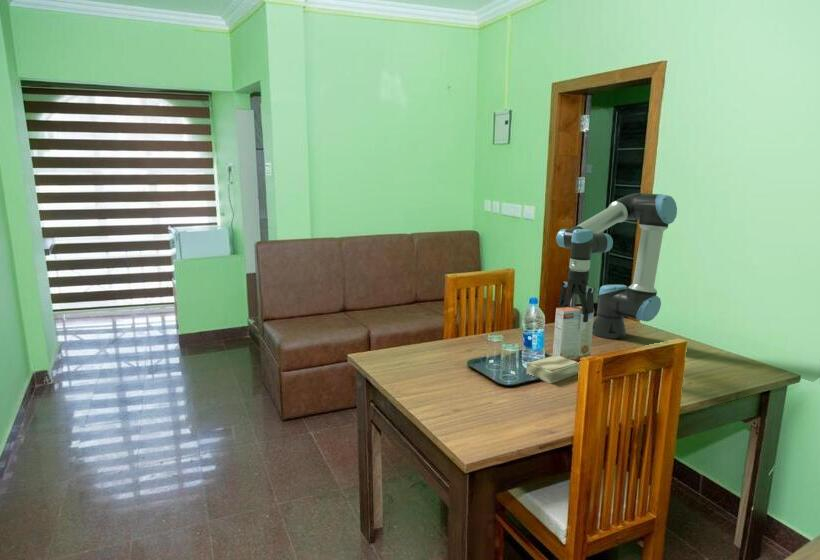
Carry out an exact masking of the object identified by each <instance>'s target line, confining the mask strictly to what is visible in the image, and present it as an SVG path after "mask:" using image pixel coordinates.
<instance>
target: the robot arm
mask: <svg viewBox="0 0 820 560" xmlns="http://www.w3.org/2000/svg"><path fill="white" fill-rule="evenodd" d="M675 200H676V199H674V197H672V196H671V195H667V194H663V193H661V194H659V193H658V194H657V193H641V192H638V193H637V192H636V193H631V194H628V195H625V196H622V197H620V198H618V199H616V200H614V201H612V202H611V203H610V204H609V205H608V207H606V208H605V209H604V210H602V211H600V212H599V213H597V214H595V215H593V216H591V217H589V218H588V219H586V220H584V221H583V222H581V223H580V224H578V225H576V226H574V227H572V228H570V229H568V228H562V229H560V230H559V231H558V232H557V234H556V237H555V239H556V240H555V241H556V244H557V245H558V246H559V247H562V248H565V249H570V256H569V265H568V267H569V270H568V273H567V274H568V275H567V278H568V281H562V282H560V287H561V288H560V293H559V298H558V302H557V306H558V307H559V308H564V307H570V304H571V301H572V299H573V297H574V295H575V294H576V295H577V296H578V298H579V300H580V301H579V302H580V305H581V306H582V310H583V313H582V314H581V320H580V330H581V331H582V330H585V328H586V322H588V315H589V314H590V313H593V312H594V313H595V307H594V305H595V304H594V297H595V296H594V293H595V291H596V289H595V288H596V287H591V286H590V285H589V283H588V281H589V278H590V277H589V276H590V271H589V270H590V269H591V268H590V267H591V256H592V254H603V253H607V252H610V251H611V250H612V248H613V244H614V241H613V237H612V236H611V235H610V234H608V233H603V232H604V231H606V230H607V229H609V228H610V227H612V226H614V225H616V224H618V223H623V222H626V221H638V226H639V228H640V229H641V232H640V236H639V237H640V238H639V244H638V248H637V249H638V250H637V255H636V261H635V267H634V274H633V280H632V284H630V285H629V286H627V285H625V284H604V285H602V286H600V287H599V293H598V299H597V301H598V302H597V308H596V309H597V310H596V311H597V312H596V317H595V319H594V320H593V329H592V335H594V336H597V337H599V338H604V339H609V340H610V339H613V340H618V339H617V338H621V339H624V337H625V338H626V337H627V328H626V324H625V320H624V317H627V318H630V319H634V320H637V321H642V322H650V321H652V320H654V319H655V317H657V315H658V314H659V312H660V310H661V307H662V301H661V298H660V297H659V296H658V295H657V294H658V291H657V289H656V288H655V283H656V276H657V272H658V271H657V270H658V266H659V259H660V254H661V248H662V241H663V235H664V232H665V231H666V230H667V229H668V228H669V224H670V225H671V224H673V222H675V220H676V218H677V214H678V207H677V202H676V201H675Z"/></svg>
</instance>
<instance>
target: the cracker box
mask: <svg viewBox="0 0 820 560" xmlns="http://www.w3.org/2000/svg"><path fill="white" fill-rule="evenodd" d="M582 313H583V310H582V306H580V305H579V306H568V307H564V308H562V307H556V308H555V317H554V330H553V331H554V333H553V344H552V345H553V346H552V356H553V355H558V356H561V357H564V358H567V359H570V360H573V361H576V362H578V361H579V360H580V358H582V357H587V356H590V357H591V351H592V350H591V348H592V339H593V338H592V337H593V334H592V329H593V323H594V317H595V316H594V315H595V311H594V312H593V313H590V314H589V315H588V322H586V328H585V330H582V331H581V330H580V320H581V314H582ZM580 361H581V360H580ZM580 361H579V362H580Z"/></svg>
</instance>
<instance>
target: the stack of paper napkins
mask: <svg viewBox="0 0 820 560" xmlns="http://www.w3.org/2000/svg"><path fill="white" fill-rule="evenodd" d="M579 363H580V361H579V362H578V361H573V360H570V359H567V358H564V357H561V356H558V355H553V354H552V355H551V356H547V357H544V358H540V359H536V360H534V361H530V362H528V363H527V362H526V368H525V369H526V371H525V373H526V375H528V374H529V375H528V376H530V375H532V376H531V377H533V376H535V377H538V378H540V379H539V380H540V381H544V382H546V383H548V384H553V383H556V382H559V381H562V380H564V379H568V378H571V377H573V376H576V375H578V374H577V373H578V365H579ZM535 377H534V378H535ZM538 378H537V379H538Z"/></svg>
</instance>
